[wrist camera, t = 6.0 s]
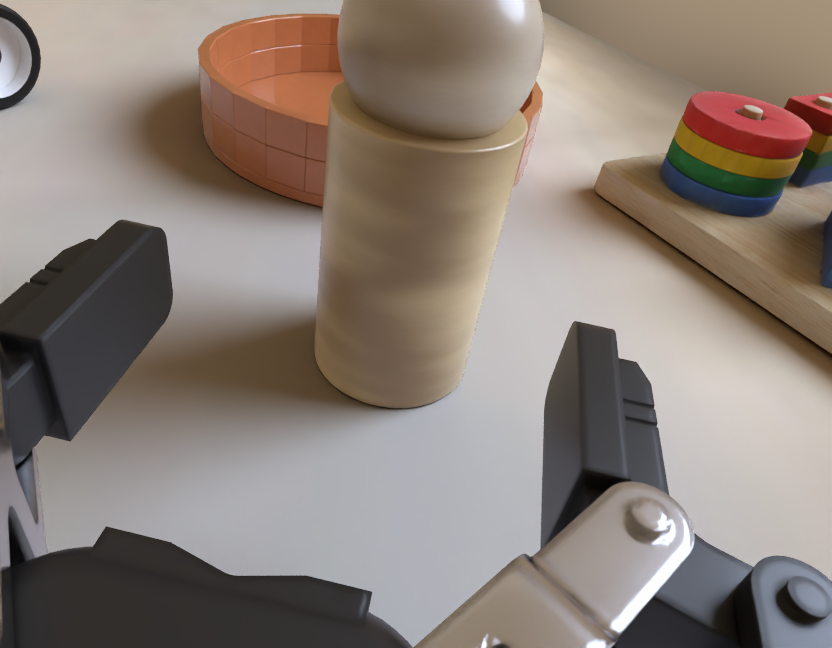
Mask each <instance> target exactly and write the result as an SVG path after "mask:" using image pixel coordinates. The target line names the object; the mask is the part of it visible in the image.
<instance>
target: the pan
mask: <svg viewBox="0 0 832 648" xmlns="http://www.w3.org/2000/svg"><path fill="white" fill-rule="evenodd" d="M339 17H340V15H333V14H287V15H272V16H265V17H259V18H253V19H247V20H242V21H239V22H236V23H232V24H229V25H226V26H223V27H221V28H219V29H218V30H216V31H214V32H213V33H211V34H210V35H208V36H207V37H206V38H205V39H204V41H203V42H202V44H201V45H200V46H199V48H198V59H199V75H200V90H201V105H202V119H203V129H204V136H205V139H206V141H207V144H208V146H209V147H210V149H211V150H212V151H213V153H214V154H215V155H216V157H217V158H218V159H220V160H221V161H222V162H223V163H224V164H225V165H226V166H227V167H228V168H230V169H231V170H233V171H234V172H236V173H237V174H239V175H240V176H242V177H243V178H245V179H247V180H249V181H251V182H253V183H255V184H256V185H258V186H261V187H263V188H265V189H268V190H270V191H272V192H275V193H277V194H280V195H283V196H286V197H289V198H292V199H295V200H298V201H301V202H305V203H309V204H313V205H317V206H321V207H323V196H324V179H325V163H326V146H327V129H328V113H329V98H330V94H331V92H332V90H333V89H334V87H335V86H336V85H337V84H339V83H340V82H342V81H344V78H343V74H342V71H341V67H340V62H339V55H338V47H337V31H338V24H339ZM542 98H543V93H542V91H541V89H540V87H539V85H538V83H537V82H535V84H534V86H533V88H532V90H531V92H530V95H529V96H528V98H527V99H526V101H525V103H524V104H523V106H522V107H521V108H520V110H519V111H520V112H521V113H522V114H523V115H524V117H525V119H526V121H527V125H528V131H527V135H526V139H525V143H524V147H523V151H522V154H521V158H520V162H519V166H518V170H517V173H516V177H515V181H514V185H513V187H514V186H515V185H516V184H517V183H518V181H519V180H520V178H521V176H522V174H523V171H524V167H525V166H526V164H527V160H528V156H529V153H530V149H531V145H532V142H533V138H534V134H535V130H536V127H537V123H538V119H539V116H540V112H541V108H542Z"/></svg>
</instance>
